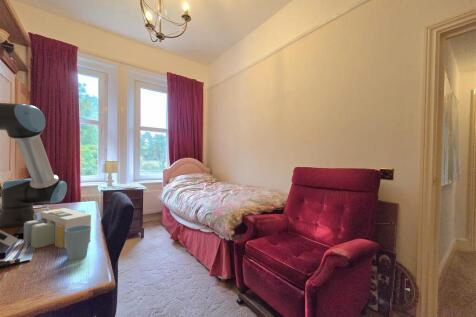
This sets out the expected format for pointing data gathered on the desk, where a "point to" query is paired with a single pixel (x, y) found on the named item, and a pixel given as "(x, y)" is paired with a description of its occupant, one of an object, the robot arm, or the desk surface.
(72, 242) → the cup
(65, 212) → the console
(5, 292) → the desk surface
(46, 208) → the watch
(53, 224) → the pale green block
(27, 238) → the grey square block
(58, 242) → the yellow square block
